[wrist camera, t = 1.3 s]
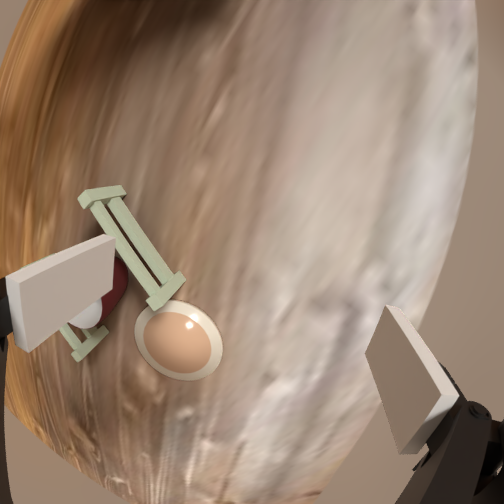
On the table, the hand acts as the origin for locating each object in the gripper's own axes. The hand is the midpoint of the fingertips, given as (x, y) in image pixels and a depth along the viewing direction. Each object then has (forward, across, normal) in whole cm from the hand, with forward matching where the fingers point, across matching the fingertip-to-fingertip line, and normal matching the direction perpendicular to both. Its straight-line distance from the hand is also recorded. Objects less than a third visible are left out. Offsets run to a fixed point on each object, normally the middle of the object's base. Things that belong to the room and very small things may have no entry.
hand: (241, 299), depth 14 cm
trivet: (+23, -8, -19) cm, 31 cm away
